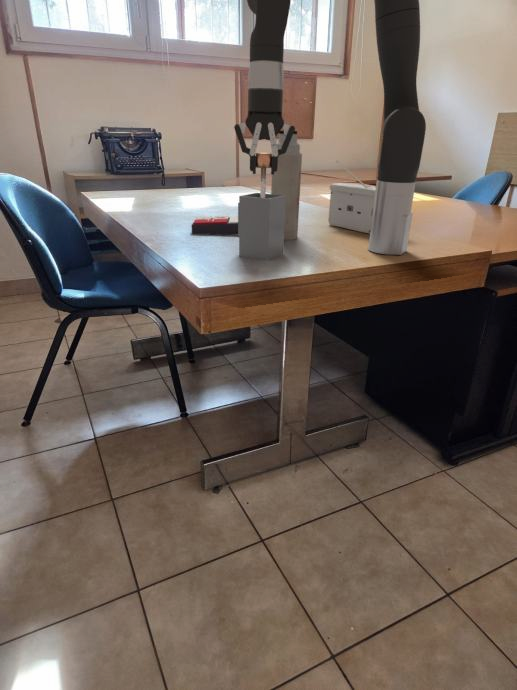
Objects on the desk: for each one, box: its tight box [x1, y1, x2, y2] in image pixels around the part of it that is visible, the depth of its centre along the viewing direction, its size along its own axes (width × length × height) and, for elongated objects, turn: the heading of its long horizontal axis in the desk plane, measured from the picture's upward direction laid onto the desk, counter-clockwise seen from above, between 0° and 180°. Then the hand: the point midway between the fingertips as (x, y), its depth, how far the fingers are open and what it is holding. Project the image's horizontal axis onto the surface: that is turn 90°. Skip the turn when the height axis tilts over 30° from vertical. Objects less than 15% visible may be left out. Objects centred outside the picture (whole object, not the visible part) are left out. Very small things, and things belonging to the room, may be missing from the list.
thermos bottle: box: [270, 129, 303, 241], centre depth 125 cm, size 8×8×28 cm
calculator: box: [191, 215, 238, 235], centre depth 137 cm, size 11×4×15 cm
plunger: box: [255, 152, 272, 198], centre depth 106 cm, size 6×6×20 cm
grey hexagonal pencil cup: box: [237, 192, 286, 261], centre depth 109 cm, size 10×8×14 cm
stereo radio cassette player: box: [327, 160, 376, 235], centre depth 140 cm, size 21×8×20 cm, turn 37°
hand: (263, 173), depth 104 cm, fingers closed on plunger, 3 cm apart
